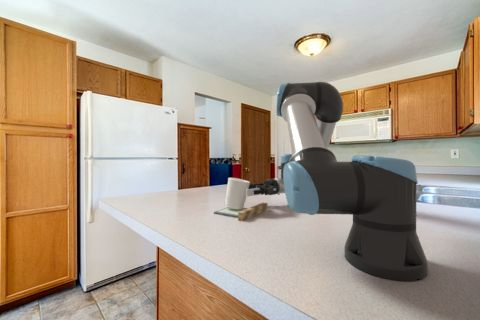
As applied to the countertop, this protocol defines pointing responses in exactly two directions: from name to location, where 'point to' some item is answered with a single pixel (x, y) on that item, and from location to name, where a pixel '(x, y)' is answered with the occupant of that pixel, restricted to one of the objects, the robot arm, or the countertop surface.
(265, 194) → the robot arm
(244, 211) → the brown wooden bar
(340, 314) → the countertop surface
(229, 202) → the candle holder
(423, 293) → the countertop surface
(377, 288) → the countertop surface
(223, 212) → the square tile
